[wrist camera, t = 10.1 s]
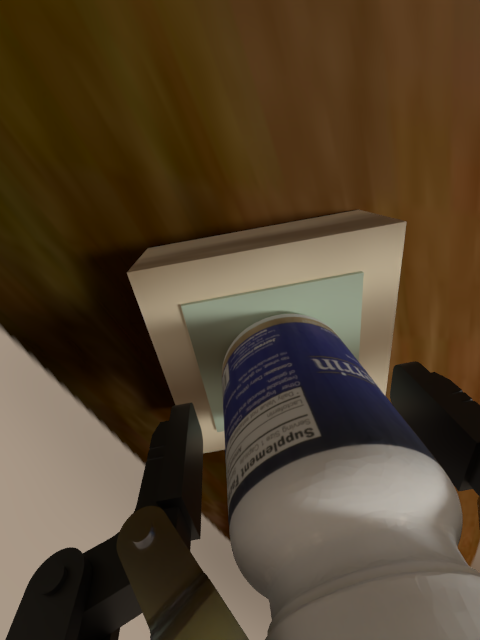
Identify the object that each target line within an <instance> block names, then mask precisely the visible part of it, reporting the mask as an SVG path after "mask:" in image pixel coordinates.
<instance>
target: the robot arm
mask: <svg viewBox="0 0 480 640" xmlns="http://www.w3.org/2000/svg"><path fill="white" fill-rule="evenodd" d="M390 398H391V402H392V405H393V406H394V407H395V409H396V410H397V411H398V413H399V414H400V415H401V416H402V418H403V419H404V420H405V421H406V422H407V424H408V425H409V426H410V427H411V429H412V430H413V431H414V432H415V433H416V435H417V436H418V437H419V439H420V440H421V441H422V442H423V444H424V445H425V446H426V447H427V449H428V450H429V451H430V452H431V454H432V455H433V456H434V458H435V459H436V460H437V462H438V463H439V464H440V466H441V467H442V468H443V469H444V471H445V472H446V474H447V475H448V477H449V479H450V480H451V482H452V483H453V485H454V486H455V487H456V488H457V490H458V491H463V490H469V489H474V490H475V492H476V493H477V494H478V495H479V497H478V500H477V504H478V516H479V528H480V405H479V404H478V403H476V402H475V401H473V400H472V398H471V397H469V396H468V395H467V394H466V393H465V392H464V393H463V392H462V390H461V389H460V388H459V387H458V386H457V385H455V384H454V383H453V382H452V381H451V380H449V379H447V378H445V377H443V376H441V375H439V374H437V373H435V372H432V373H430V372H429V371H428V370H427V369H426V368H425V367H424V366H422V365H421V364H420V363H419V362H410V363H404V364H399V365H395V366H394V369H393V376H392V384H391V391H390ZM202 467H203V436H202V430H201V427H200V424H199V421H198V418H197V415H196V411H195V408H194V405H193V403H192V402H191V403H185V404H180V405H175V406H172V409H171V415H170V421H165V422H160V424H159V425H158V427H157V428H156V430H155V432H154V433H153V435H152V439H151V444H150V450H149V453H148V457H147V462H146V466H145V470H144V475H143V479H142V484H141V488H140V492H139V497H138V502H137V505H136V509H135V511H134V513H133V514H132V515H131V516H130V517H129V518H128V519H127V520H126V522H125V523H124V525H123V526H122V528H121V530H120V532H118V533H117V534H116V535H115V536H113V537H112V538H110V539H108V540H107V541H105V542H103V543H101V544H99V545H97V546H96V547H94V548H92V549H90V550H88V551H87V552H85V553H83V554H82V552H81V551H80V550H78V549H76V548H65V549H63V550H60V551H58V552H56V553H55V554H53V555H52V556H50V557H49V558H48V559H47V560H46V561H45V562H44V563H43V564H42V565H41V566H40V567H39V568H38V569H37V571H36V572H35V574H34V575H33V576H32V578H31V580H30V581H29V584H28V586H27V588H26V590H25V593H24V596H23V598H22V600H21V603H20V605H19V608H18V610H17V612H16V615H15V617H14V620H13V623H12V625H11V627H10V630H9V632H8V635H7V637H6V640H118V637H119V631H120V627H121V626H123V625H124V624H126V623H127V622H129V621H130V620H132V619H134V618H135V617H137V616H138V615H140V614H141V613H143V615H144V617H145V619H146V621H147V624H148V626H149V629H150V633H151V636H150V638H151V640H249V639H248V637H247V636H246V634H245V633H244V631H243V630H242V628H241V627H240V625H239V624H238V622H237V621H236V619H235V617H234V616H233V614H232V613H231V611H230V610H229V608H228V607H227V605H226V604H225V602H224V601H223V599H222V597H221V596H220V594H219V593H218V591H217V590H216V589H215V587H214V585H213V584H212V582H211V581H210V579H209V578H208V576H207V575H206V574H205V573H204V572H203V571H202V569H201V568H200V566H199V565H198V563H197V561H196V560H195V558H194V557H193V555H192V554H191V552H190V544H191V540H195V539H200V531H201V499H202Z"/></svg>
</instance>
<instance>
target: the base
mask: <svg viewBox="0 0 480 640" xmlns="http://www.w3.org/2000/svg"><path fill="white" fill-rule="evenodd" d="M406 222H407V221H402V220H398V219H394V218H390V217H386V216H382V215H378V214H374V213H370V212H366V211H361V210H354V211H349V212H343V213H338V214H333V215H327V216H322V217H316V218H311V219H305V220H300V221H294V222H289V223H283V224H278V225H272V226H267V227H261V228H256V229H250V230H245V231H239V232H234V233H228V234H223V235H217V236H212V237H206V238H201V239H196V240H190V241H185V242H179V243H174V244H168V245H163V246H157V247H152V248H147V250H146V251H145V252H144V253H143V254H142V255H141V257H140V258H139V259H138V260H137V261H136V262H135V264H134V265H133V266H132V267H131V268H130V269H129V271H128V272H127V275H128V277H129V280H130V283H131V286H132V288H133V291H134V294H135V296H136V299H137V302H138V305H139V307H140V310H141V313H142V315H143V318H144V321H145V324H146V326H147V329H148V332H149V334H150V337H151V340H152V343H153V345H154V348H155V351H156V353H157V356H158V359H159V362H160V364H161V367H162V370H163V372H164V375H165V378H166V381H167V383H168V386H169V389H170V391H171V394H172V397H173V400H174V402H175V405H180V404H185V403H191V402H192V403H193V405H194V408H195V411H196V415H197V418H198V421H199V424H200V427H201V430H202V436H203V453H208V452H213V451H218V450H224V449H225V434H224V415H223V393H222V367H223V361H224V358H225V355H226V353H227V351H228V349H229V347H230V345H231V344H232V342H233V341H234V340H235V339H236V337H237V336H238V335H239V334H240V333H241V332H243V331H244V330H245V329H246V328H248V327H249V326H251V325H252V324H254V323H256V322H258V321H260V320H262V319H265V318H268V317H271V316H275V315H280V314H301V315H306V316H310V317H313V318H315V319H318V320H320V321H321V322H323V323H325V324H326V325H328V326H329V327H330V328H331V329H333V330H334V332H335V333H336V334H337V335H338V336H339V338H340V339H341V340H342V341H343V343H344V344H345V345H346V346H347V347H348V349H349V350H350V351H351V353H352V354H353V355H354V357H355V358H356V359H357V360H358V362H359V363H360V364H361V365H362V367H363V368H364V369H365V370H366V372H367V373H368V374H369V376H370V377H371V378H372V379H373V381H374V382H375V383H376V384H377V386H378V387H379V388H380V389H381V391H382V392H383V393H384V395H385V396H386V387H387V379H388V371H389V362H390V354H391V346H392V338H393V329H394V321H395V313H396V305H397V296H398V288H399V280H400V272H401V263H402V255H403V247H404V238H405V230H406Z"/></svg>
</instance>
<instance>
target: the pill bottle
mask: <svg viewBox="0 0 480 640" xmlns="http://www.w3.org/2000/svg"><path fill="white" fill-rule="evenodd" d="M222 393H223V415H224V434H225V458H226V475H227V496H228V515H229V519H228V520H229V530H230V540H231V546H232V551H233V554H234V557H235V561H236V563H237V565H238V567H239V569H240V571H241V573H242V574H243V576H244V577H245V578H246V580H247V581H248V582H249V583H250V585H251V586H252V587H253V588H254V589H255V590H256V591H258V592H259V593H260V594H262V595H263V596H265V597H266V598H267V599H269V602H270V609H271V617H272V622H271V624H270V626H269V629H268V636H267V637H266V639H265V640H480V573H479V572H478V571H477V570H475V569H473V568H471V567H469V566H468V564H467V563H466V561H465V560H464V558H463V556H462V555H461V553H460V552H459V550H458V548H457V546H458V543H459V540H460V537H461V531H462V510H461V504H460V501H459V497H458V495H457V492H456V490H455V488H454V486H453V484H452V482H451V480H450V479H449V477H448V475H447V474H446V472H445V471H444V469H443V468H442V467H441V466H440V464H439V463H438V462H437V460H436V459H435V458H434V456H433V455H432V454H431V452H430V451H429V450H428V449H427V447H426V446H425V445H424V444H423V442H422V441H421V440H420V439H419V437H418V436H417V435H416V433H415V432H414V431H413V430H412V429H411V427H410V426H409V425H408V424H407V422H406V421H405V420H404V419H403V418H402V416H401V415H400V414H399V413H398V411H397V410H396V409H395V407H394V406H393V405H392V404H391V402H390V401H389V400H388V399H387V397H386V396H385V395H384V393H383V392H382V391H381V389H380V388H379V387H378V386H377V384H376V383H375V382H374V381H373V379H372V378H371V377H370V376H369V374H368V373H367V372H366V370H365V369H364V368H363V367H362V365H361V364H360V363H359V362H358V360H357V359H356V358H355V357H354V355H353V354H352V353H351V351H350V350H349V349H348V347H347V346H346V345H345V344H344V343H343V341H342V340H341V339H340V338H339V336H338V335H337V334H336V333H335V332H334V330H333V329H331V328H330V327H329V326H328V325H326V324H325V323H323V322H321V321H320V320H318V319H315V318H313V317H310V316H306V315H301V314H280V315H275V316H271V317H268V318H265V319H262V320H260V321H258V322H256V323H254V324H252V325H251V326H249V327H248V328H246V329H245V330H244V331H243V332H241V333H240V334H239V335H238V336H237V337H236V339H235V340H234V341H233V342H232V344H231V345H230V347H229V349H228V351H227V353H226V355H225V358H224V361H223V367H222Z"/></svg>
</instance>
